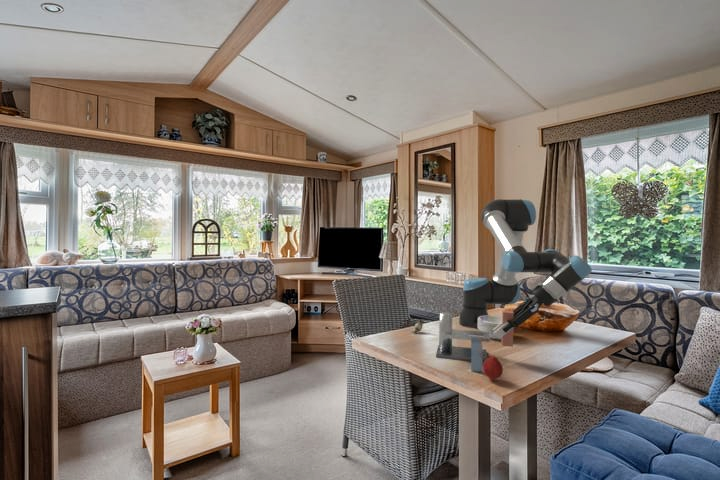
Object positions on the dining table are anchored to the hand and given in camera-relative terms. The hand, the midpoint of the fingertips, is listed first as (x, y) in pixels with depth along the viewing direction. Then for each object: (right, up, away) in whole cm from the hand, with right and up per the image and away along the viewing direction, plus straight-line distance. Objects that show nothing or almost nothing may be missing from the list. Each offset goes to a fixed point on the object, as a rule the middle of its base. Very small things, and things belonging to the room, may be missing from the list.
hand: (495, 334), depth 128 cm
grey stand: (-12, -9, 0) cm, 15 cm away
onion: (-8, -10, -18) cm, 22 cm away
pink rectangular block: (+4, -3, -1) cm, 5 cm away
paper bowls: (+11, -9, +30) cm, 33 cm away
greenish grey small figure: (-22, -9, +35) cm, 42 cm away
